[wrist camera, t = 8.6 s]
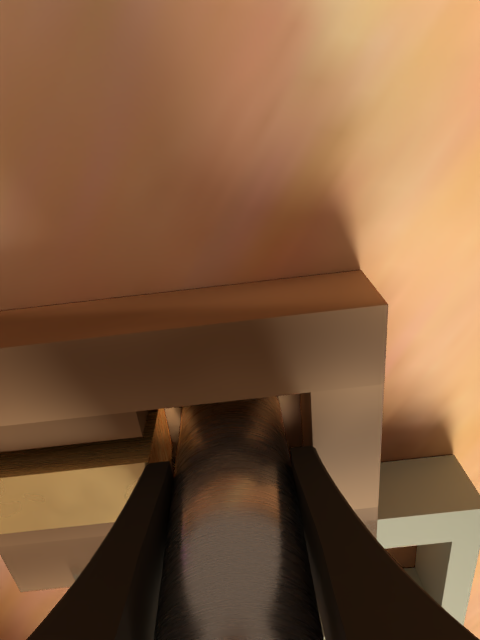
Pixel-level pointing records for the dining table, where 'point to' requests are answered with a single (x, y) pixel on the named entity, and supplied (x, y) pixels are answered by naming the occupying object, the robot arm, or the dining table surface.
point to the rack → (432, 525)
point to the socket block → (193, 382)
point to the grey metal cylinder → (235, 531)
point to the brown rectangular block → (77, 479)
